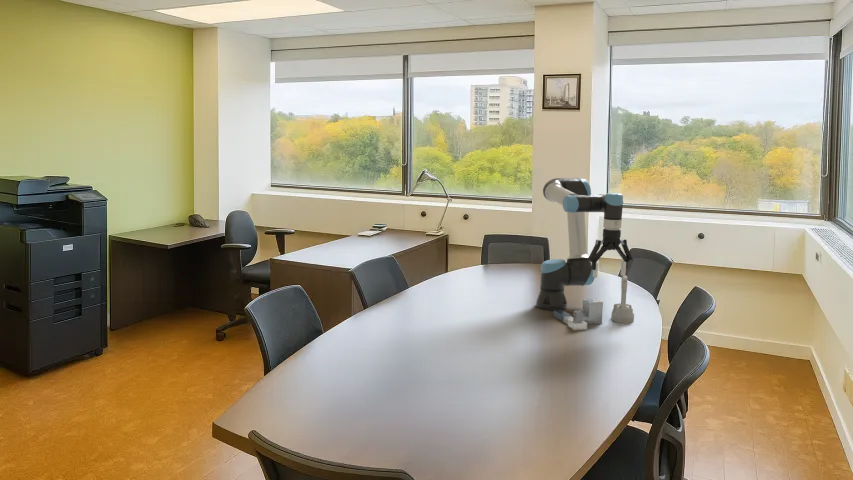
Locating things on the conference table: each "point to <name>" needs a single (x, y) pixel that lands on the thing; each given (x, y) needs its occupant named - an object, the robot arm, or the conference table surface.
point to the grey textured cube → (592, 311)
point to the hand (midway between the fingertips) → (609, 276)
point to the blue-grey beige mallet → (572, 319)
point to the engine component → (623, 306)
